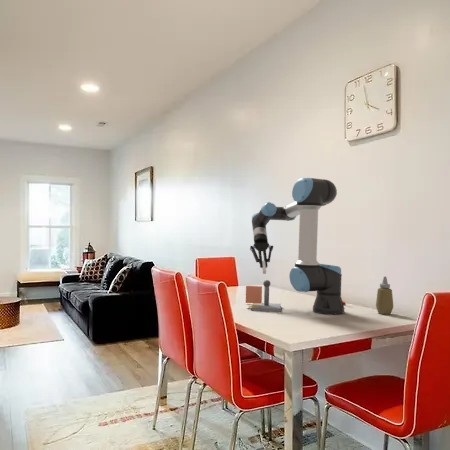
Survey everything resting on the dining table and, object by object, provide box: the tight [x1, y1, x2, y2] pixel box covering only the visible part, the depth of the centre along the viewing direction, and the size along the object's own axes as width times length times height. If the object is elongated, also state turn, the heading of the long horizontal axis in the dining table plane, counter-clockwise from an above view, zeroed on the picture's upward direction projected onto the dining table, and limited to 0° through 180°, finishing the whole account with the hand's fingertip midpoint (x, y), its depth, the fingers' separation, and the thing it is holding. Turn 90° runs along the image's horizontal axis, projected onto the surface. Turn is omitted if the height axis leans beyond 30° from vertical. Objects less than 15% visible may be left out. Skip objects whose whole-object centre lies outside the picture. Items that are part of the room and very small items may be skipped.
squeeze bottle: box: [375, 276, 394, 315], centre depth 209 cm, size 8×8×18 cm
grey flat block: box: [246, 302, 281, 313], centre depth 216 cm, size 17×14×2 cm
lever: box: [245, 279, 271, 305], centre depth 217 cm, size 12×4×12 cm, turn 82°
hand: (264, 272), depth 224 cm, fingers closed
